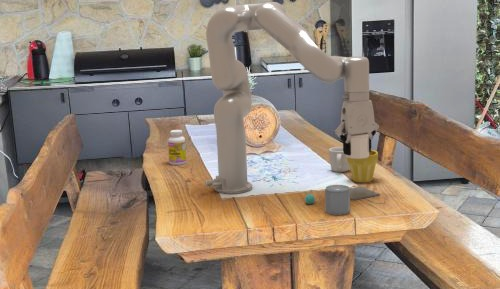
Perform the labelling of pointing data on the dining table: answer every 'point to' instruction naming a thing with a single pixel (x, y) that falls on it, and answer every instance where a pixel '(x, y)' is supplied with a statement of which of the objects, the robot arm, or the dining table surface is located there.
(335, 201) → the beaker
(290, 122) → the dining table surface
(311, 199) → the ball
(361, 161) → the plant pot
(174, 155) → the supplement bottle
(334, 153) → the cup
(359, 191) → the coaster
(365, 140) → the beaker
